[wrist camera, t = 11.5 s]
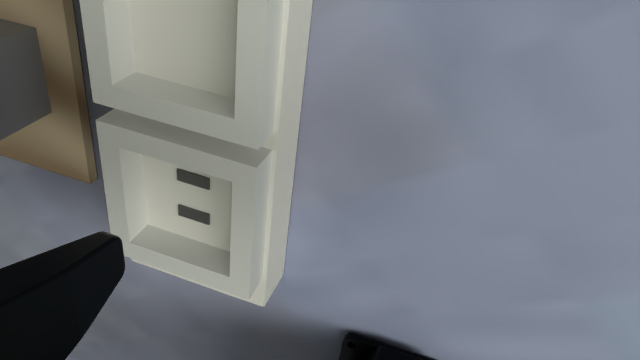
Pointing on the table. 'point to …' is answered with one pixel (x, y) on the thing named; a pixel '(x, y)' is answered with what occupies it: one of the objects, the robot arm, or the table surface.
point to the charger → (21, 78)
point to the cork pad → (55, 94)
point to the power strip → (200, 133)
